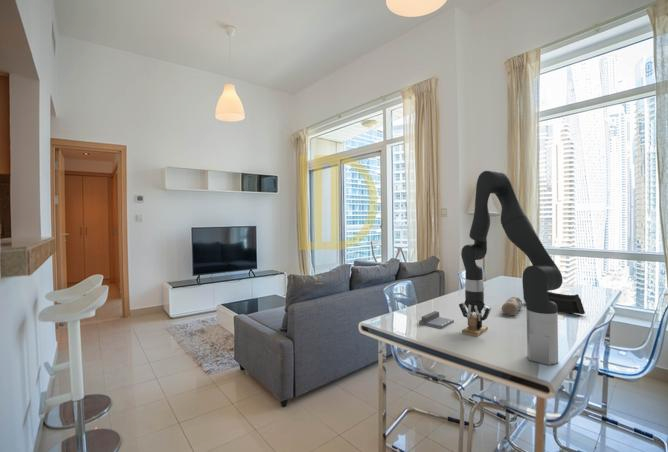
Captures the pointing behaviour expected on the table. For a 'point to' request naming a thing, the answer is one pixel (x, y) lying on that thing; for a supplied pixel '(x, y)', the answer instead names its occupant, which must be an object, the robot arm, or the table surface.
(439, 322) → the board
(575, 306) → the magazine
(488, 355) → the table surface
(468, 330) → the stub
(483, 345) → the table surface
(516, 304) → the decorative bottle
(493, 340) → the table surface
